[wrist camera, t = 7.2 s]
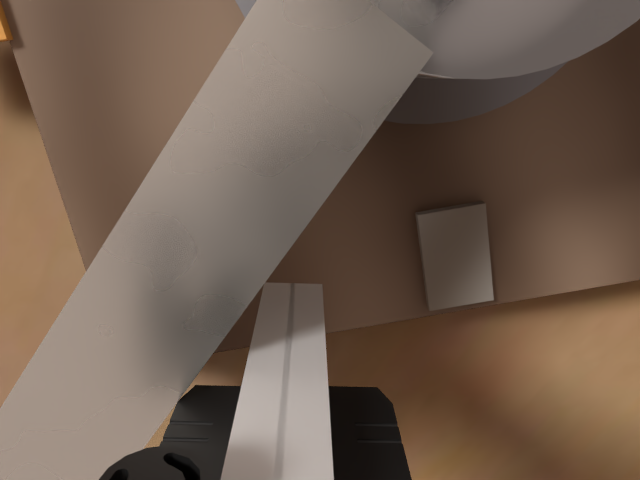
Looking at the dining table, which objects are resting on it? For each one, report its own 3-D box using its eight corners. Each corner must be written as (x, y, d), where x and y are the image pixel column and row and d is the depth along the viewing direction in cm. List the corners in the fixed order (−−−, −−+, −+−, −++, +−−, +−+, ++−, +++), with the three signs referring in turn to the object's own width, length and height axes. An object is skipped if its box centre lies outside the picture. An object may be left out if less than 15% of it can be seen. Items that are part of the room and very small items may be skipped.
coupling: (407, -443, 9) (484, -835, 5) (689, -154, 10) (917, -292, 6) (-37, 328, 13) (-182, 435, 9) (207, 462, 14) (171, 605, 10)
